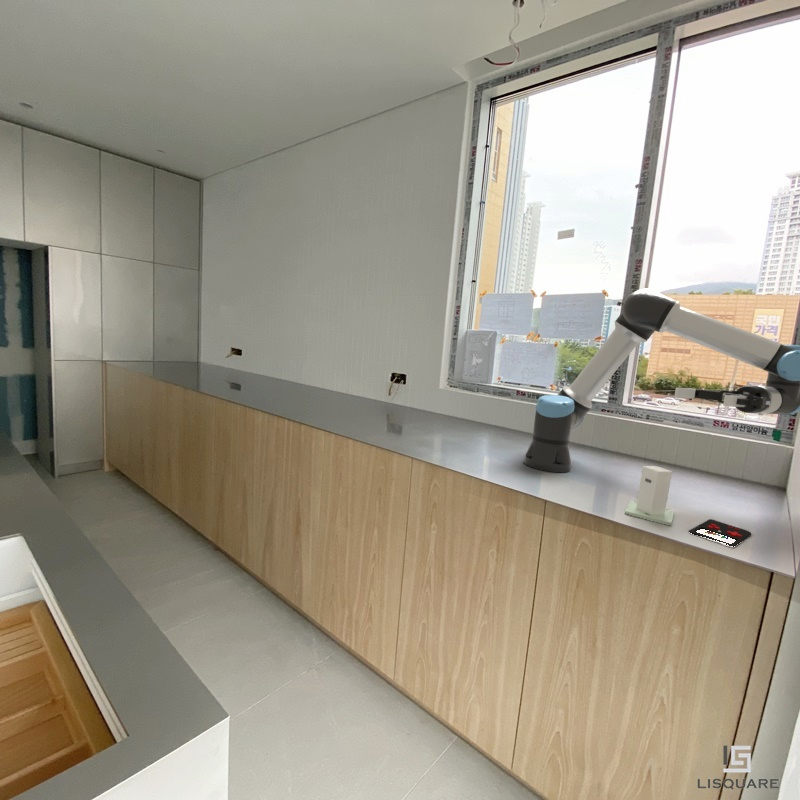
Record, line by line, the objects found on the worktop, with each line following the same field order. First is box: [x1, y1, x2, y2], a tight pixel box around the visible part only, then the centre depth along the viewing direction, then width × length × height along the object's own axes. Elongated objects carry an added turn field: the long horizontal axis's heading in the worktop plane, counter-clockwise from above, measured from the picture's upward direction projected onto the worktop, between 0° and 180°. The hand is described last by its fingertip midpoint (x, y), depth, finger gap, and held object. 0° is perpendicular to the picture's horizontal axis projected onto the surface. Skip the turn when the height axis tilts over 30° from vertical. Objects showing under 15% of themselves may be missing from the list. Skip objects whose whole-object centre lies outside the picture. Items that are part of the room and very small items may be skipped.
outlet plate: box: [624, 500, 675, 527], centre depth 113 cm, size 10×10×1 cm
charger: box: [636, 465, 673, 515], centre depth 112 cm, size 4×5×11 cm
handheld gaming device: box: [688, 518, 752, 547], centre depth 104 cm, size 9×1×15 cm
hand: (699, 396), depth 117 cm, fingers open, 13 cm apart
